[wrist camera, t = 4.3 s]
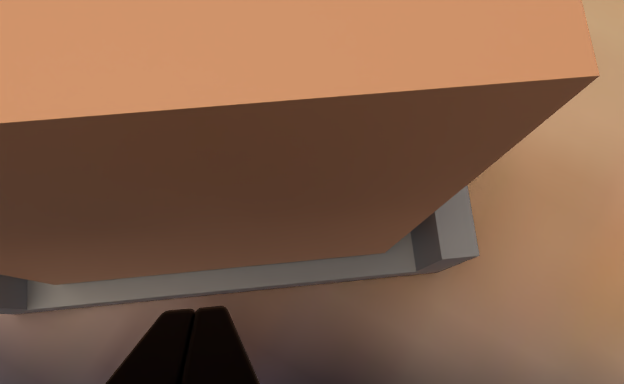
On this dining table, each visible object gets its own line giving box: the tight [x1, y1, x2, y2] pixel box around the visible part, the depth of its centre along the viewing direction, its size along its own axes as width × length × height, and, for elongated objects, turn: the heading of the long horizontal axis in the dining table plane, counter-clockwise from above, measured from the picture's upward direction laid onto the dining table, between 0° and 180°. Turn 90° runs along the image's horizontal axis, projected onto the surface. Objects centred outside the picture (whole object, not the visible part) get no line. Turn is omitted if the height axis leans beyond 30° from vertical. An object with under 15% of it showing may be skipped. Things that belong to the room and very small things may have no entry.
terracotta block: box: [0, 0, 600, 285], centre depth 9 cm, size 4×8×10 cm, turn 96°
